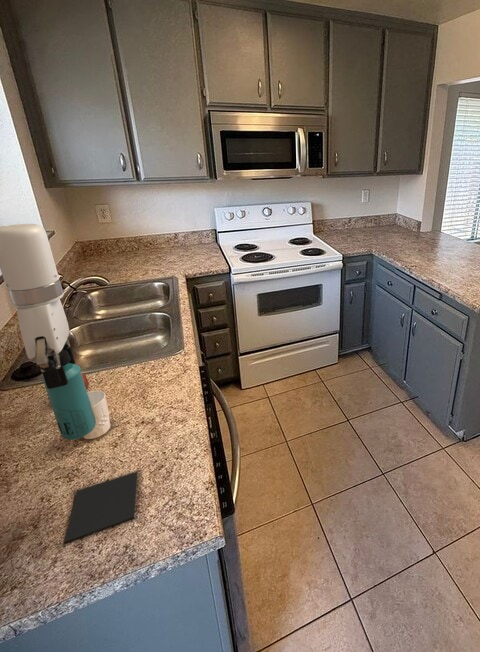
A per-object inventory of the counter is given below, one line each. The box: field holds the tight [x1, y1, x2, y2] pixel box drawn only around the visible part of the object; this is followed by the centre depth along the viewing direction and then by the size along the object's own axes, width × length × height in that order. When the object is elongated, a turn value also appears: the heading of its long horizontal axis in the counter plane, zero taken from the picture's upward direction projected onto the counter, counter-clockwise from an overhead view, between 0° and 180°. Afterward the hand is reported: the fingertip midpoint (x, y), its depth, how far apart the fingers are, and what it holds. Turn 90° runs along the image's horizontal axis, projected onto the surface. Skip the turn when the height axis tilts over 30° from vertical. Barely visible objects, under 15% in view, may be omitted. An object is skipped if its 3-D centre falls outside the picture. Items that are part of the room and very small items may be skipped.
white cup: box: [82, 389, 111, 440], centre depth 95 cm, size 8×8×10 cm
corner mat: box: [64, 471, 138, 544], centre depth 76 cm, size 12×12×1 cm
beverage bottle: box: [42, 350, 96, 441], centre depth 73 cm, size 6×7×20 cm
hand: (62, 375), depth 71 cm, fingers closed on beverage bottle, 6 cm apart
